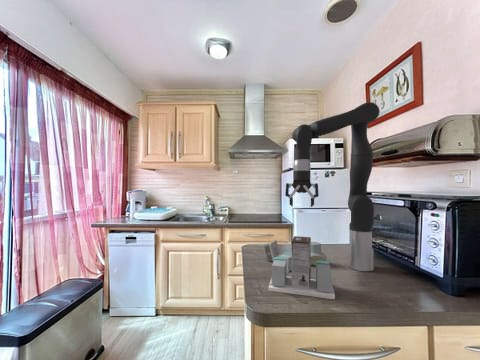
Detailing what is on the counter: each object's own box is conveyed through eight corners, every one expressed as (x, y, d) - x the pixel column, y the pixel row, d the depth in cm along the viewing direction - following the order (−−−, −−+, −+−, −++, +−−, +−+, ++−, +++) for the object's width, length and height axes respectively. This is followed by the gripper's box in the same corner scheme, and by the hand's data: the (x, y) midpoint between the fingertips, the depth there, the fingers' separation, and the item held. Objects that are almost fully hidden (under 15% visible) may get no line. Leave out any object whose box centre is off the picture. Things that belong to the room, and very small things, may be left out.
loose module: (295, 268, 107) (295, 253, 107) (287, 272, 102) (288, 257, 102) (286, 265, 110) (286, 251, 110) (278, 269, 105) (278, 254, 105)
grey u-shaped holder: (330, 284, 89) (330, 260, 89) (334, 299, 78) (334, 271, 78) (272, 277, 95) (273, 255, 95) (268, 290, 83) (268, 264, 84)
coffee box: (293, 276, 92) (293, 235, 92) (310, 279, 90) (310, 236, 90) (291, 286, 83) (291, 240, 83) (310, 289, 81) (310, 242, 81)
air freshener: (304, 266, 109) (304, 244, 109) (301, 260, 117) (301, 240, 118) (328, 267, 108) (328, 245, 108) (324, 261, 116) (324, 241, 116)
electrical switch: (274, 263, 113) (273, 243, 113) (264, 262, 115) (263, 243, 116) (281, 258, 121) (279, 240, 122) (271, 257, 123) (270, 239, 124)
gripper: (317, 170, 107) (317, 206, 107) (286, 170, 111) (286, 205, 111) (318, 169, 100) (318, 207, 100) (285, 169, 104) (284, 206, 103)
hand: (301, 206), depth 105 cm, fingers open, 8 cm apart
